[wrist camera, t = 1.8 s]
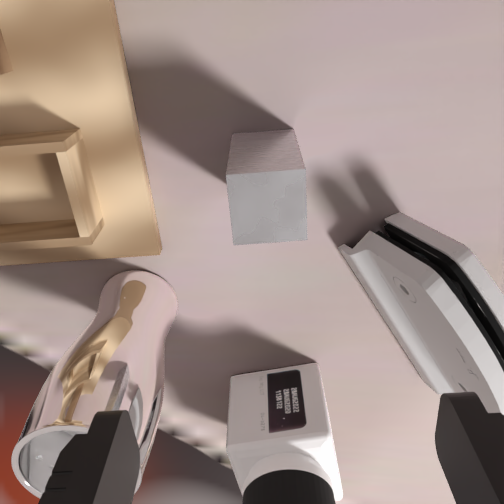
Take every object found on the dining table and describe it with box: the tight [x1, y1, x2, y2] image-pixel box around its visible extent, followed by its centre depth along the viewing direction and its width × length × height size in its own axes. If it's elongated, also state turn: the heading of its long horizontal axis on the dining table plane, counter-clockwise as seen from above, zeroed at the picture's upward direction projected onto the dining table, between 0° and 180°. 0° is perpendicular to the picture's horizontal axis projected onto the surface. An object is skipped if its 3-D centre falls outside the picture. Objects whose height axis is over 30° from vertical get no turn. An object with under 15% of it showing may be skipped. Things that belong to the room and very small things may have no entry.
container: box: [226, 363, 343, 504], centre depth 36 cm, size 8×8×13 cm
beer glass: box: [12, 270, 178, 498], centre depth 30 cm, size 7×7×15 cm
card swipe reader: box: [338, 212, 504, 415], centre depth 33 cm, size 17×5×10 cm, turn 33°
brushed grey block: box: [226, 129, 307, 245], centre depth 28 cm, size 4×4×8 cm
